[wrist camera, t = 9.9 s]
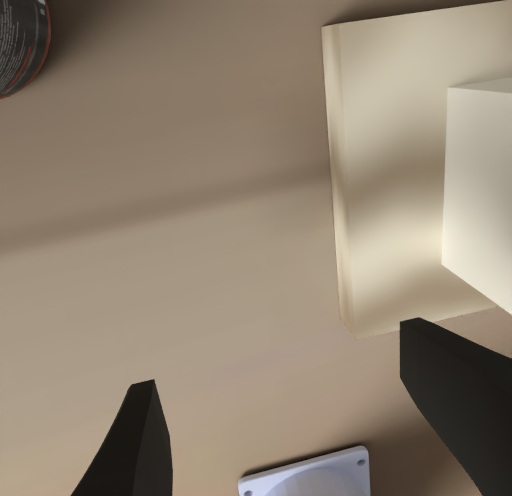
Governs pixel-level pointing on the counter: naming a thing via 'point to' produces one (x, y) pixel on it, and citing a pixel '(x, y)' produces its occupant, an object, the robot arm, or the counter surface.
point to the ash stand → (401, 156)
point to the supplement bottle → (22, 42)
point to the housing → (479, 188)
